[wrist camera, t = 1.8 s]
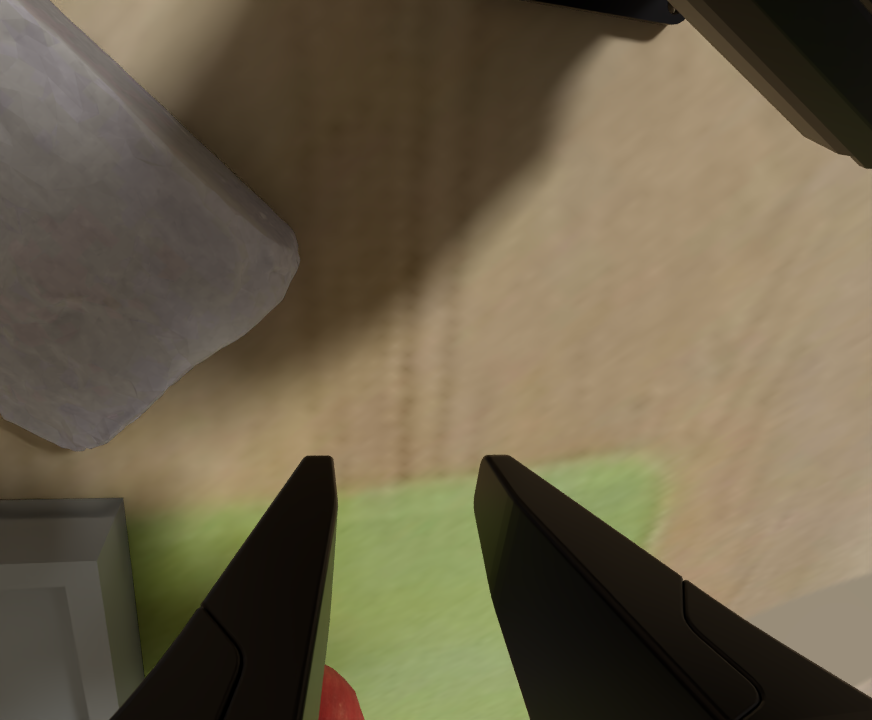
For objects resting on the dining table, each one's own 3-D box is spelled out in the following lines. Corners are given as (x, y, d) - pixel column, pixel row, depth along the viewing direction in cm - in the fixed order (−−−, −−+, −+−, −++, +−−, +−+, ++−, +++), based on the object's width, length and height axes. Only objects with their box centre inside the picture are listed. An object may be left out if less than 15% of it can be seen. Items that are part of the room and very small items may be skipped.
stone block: (146, 404, 22) (335, 227, 18) (82, 502, 18) (309, 300, 14) (-219, 153, 17) (-57, -154, 13) (-421, 212, 13) (-266, -206, 9)
